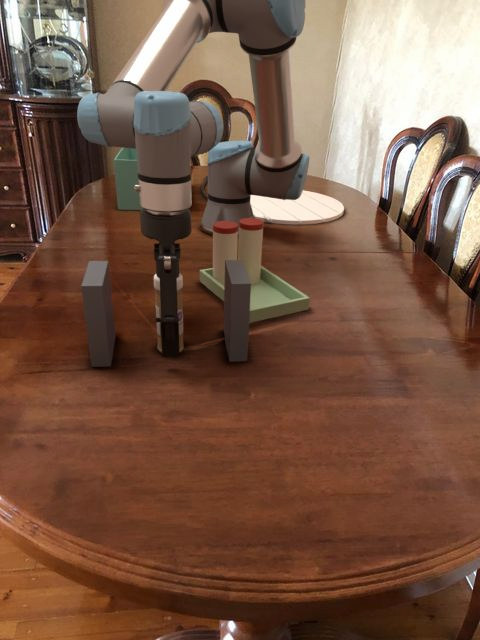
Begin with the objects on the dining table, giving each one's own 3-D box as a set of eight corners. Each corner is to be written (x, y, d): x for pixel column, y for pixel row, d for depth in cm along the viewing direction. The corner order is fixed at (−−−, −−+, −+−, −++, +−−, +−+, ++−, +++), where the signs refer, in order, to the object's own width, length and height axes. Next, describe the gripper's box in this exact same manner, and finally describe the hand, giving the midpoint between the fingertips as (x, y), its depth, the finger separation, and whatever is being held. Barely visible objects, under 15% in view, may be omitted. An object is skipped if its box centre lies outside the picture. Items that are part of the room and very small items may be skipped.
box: (117, 209, 158) (113, 159, 151) (129, 184, 185) (126, 140, 178) (187, 211, 160) (186, 162, 153) (189, 186, 188) (188, 143, 180)
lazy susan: (248, 229, 149) (249, 217, 147) (205, 194, 179) (205, 183, 178) (367, 219, 164) (368, 208, 162) (308, 188, 194) (309, 179, 192)
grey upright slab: (229, 361, 87) (231, 283, 80) (223, 332, 95) (224, 259, 88) (247, 361, 87) (251, 283, 80) (239, 332, 96) (242, 259, 89)
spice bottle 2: (233, 278, 115) (234, 219, 109) (252, 274, 118) (255, 216, 111) (244, 286, 112) (246, 226, 105) (264, 283, 114) (268, 223, 108)
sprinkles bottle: (177, 357, 87) (174, 282, 80) (152, 352, 88) (148, 277, 81) (188, 345, 91) (187, 272, 84) (164, 339, 92) (161, 267, 85)
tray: (199, 284, 114) (199, 269, 112) (253, 274, 120) (254, 260, 118) (249, 326, 98) (250, 310, 96) (308, 312, 105) (310, 297, 103)
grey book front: (91, 367, 83) (80, 285, 76) (98, 336, 92) (89, 260, 85) (110, 366, 84) (102, 285, 77) (115, 336, 92) (108, 260, 85)
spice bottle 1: (208, 282, 113) (208, 222, 106) (229, 279, 115) (230, 219, 108) (219, 291, 109) (220, 229, 102) (240, 287, 111) (242, 226, 105)
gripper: (142, 187, 87) (149, 306, 98) (136, 234, 67) (145, 376, 78) (187, 188, 88) (189, 305, 99) (195, 234, 68) (196, 374, 79)
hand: (170, 336), depth 88 cm, fingers open, 12 cm apart
